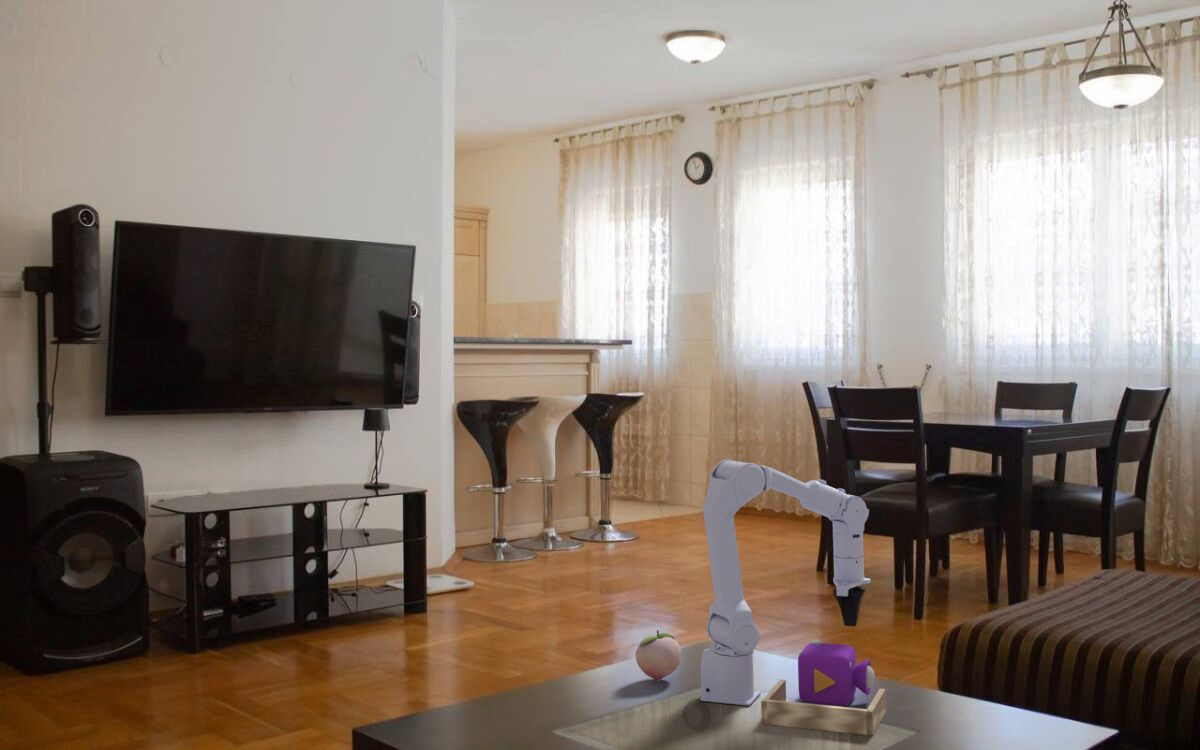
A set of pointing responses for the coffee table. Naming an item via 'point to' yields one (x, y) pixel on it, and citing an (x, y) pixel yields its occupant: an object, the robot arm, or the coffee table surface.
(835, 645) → the toy camera
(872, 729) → the wooden tray
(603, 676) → the coffee table surface
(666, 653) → the decorative fruit
